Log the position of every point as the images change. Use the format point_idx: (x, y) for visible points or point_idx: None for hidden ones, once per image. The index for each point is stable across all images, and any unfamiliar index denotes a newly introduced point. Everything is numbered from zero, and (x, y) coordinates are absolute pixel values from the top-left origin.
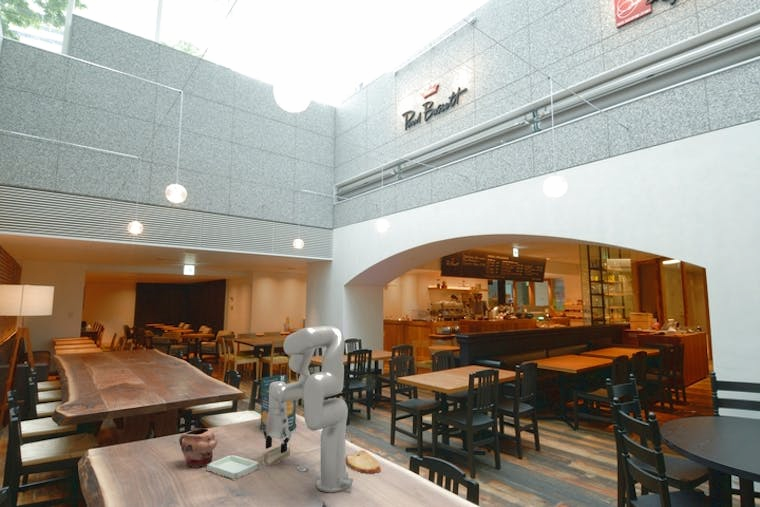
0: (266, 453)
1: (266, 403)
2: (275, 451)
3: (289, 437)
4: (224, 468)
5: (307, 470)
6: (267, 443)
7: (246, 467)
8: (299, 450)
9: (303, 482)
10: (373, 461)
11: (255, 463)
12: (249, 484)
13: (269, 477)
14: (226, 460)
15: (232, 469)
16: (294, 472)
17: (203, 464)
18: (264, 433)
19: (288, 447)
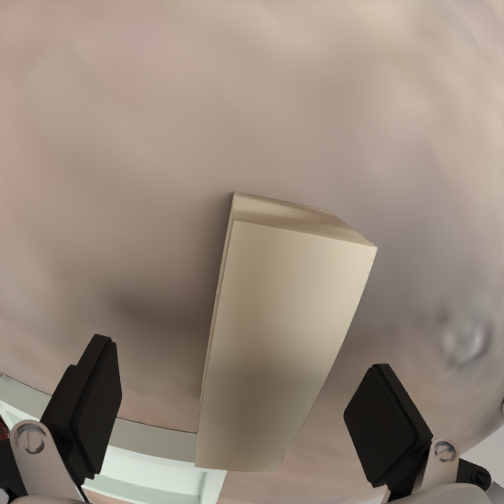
0: (228, 467)
1: None
2: (281, 430)
3: (487, 495)
4: (126, 498)
5: (488, 345)
6: (107, 435)
7: (207, 495)
8: (318, 23)
9: (472, 412)
10: None
11: (212, 474)
12: (291, 494)
13: (340, 458)
14: (19, 418)
15: (120, 465)
16: (439, 389)
17: (5, 436)
18: (10, 499)
19: (361, 272)
